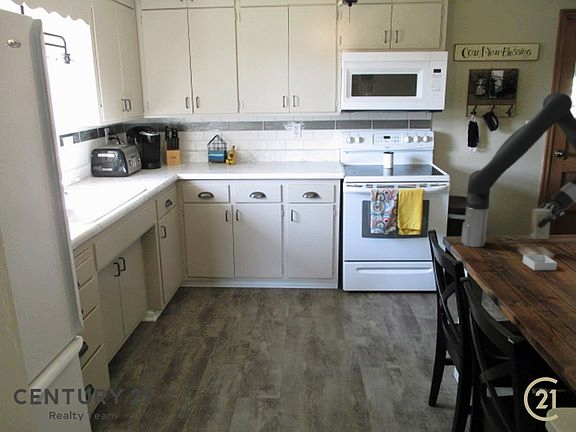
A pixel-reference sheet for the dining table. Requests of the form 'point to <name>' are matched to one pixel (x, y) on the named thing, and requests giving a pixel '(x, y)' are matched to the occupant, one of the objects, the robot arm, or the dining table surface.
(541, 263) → the gray square frame
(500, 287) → the dining table surface
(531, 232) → the skincare box
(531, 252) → the birch board
